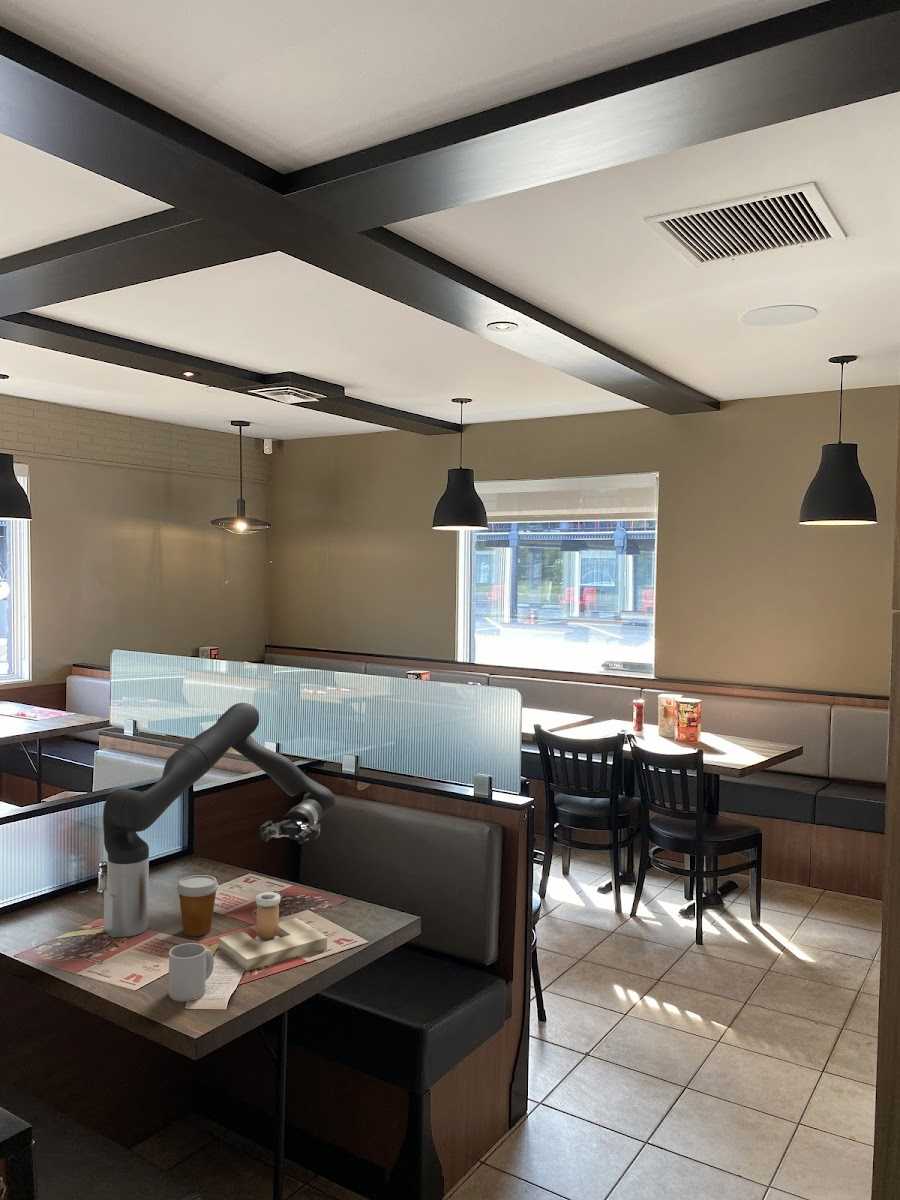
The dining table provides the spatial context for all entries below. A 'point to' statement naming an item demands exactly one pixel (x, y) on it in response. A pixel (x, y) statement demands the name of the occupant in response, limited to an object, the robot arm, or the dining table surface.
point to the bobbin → (267, 916)
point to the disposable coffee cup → (197, 903)
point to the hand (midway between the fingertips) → (282, 838)
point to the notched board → (273, 945)
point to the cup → (189, 971)
